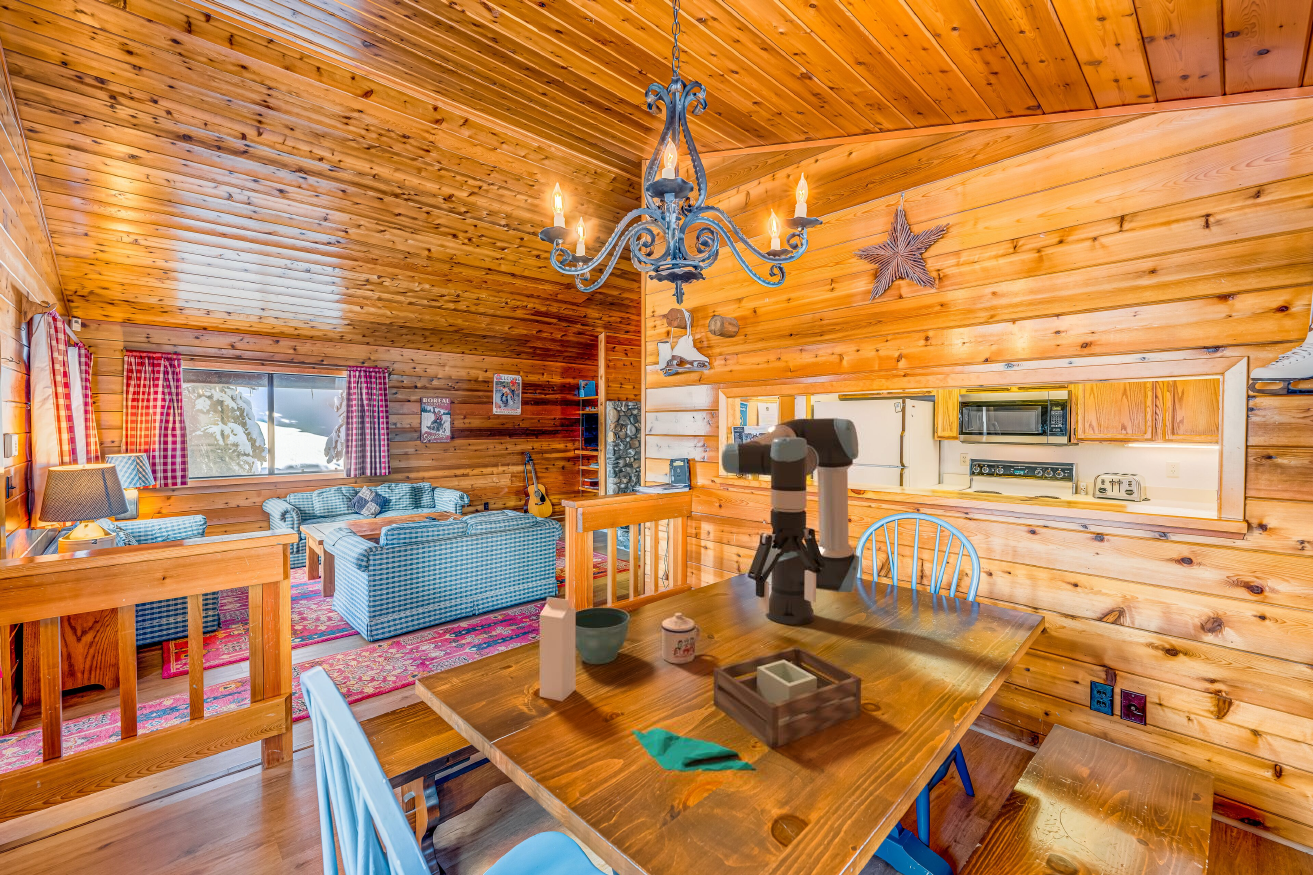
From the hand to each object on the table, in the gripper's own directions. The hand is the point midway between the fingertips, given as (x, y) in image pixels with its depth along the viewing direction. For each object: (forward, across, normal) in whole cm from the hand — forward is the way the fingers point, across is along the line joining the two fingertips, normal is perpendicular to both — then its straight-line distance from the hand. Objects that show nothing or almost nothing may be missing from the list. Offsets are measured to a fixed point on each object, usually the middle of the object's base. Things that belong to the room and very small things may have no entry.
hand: (787, 605), depth 118 cm
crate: (+23, 0, 0) cm, 23 cm away
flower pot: (+23, +25, -44) cm, 56 cm away
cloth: (+23, +28, +2) cm, 36 cm away
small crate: (+22, 0, 0) cm, 22 cm away
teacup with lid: (+23, +5, -34) cm, 41 cm away
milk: (+23, +41, -31) cm, 56 cm away
